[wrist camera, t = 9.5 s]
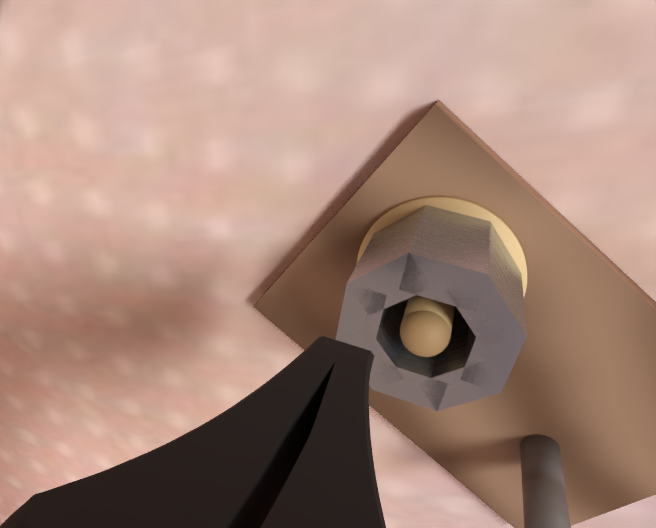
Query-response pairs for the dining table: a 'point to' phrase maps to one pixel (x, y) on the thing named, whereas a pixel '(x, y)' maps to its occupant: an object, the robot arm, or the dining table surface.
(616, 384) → the board
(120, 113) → the dining table surface
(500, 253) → the collar
